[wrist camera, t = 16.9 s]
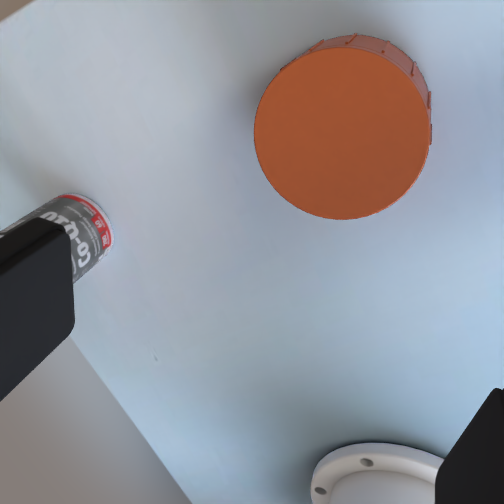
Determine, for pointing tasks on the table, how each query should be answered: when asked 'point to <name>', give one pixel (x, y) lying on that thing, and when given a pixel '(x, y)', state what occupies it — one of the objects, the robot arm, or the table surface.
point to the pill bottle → (76, 229)
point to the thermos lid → (344, 127)
